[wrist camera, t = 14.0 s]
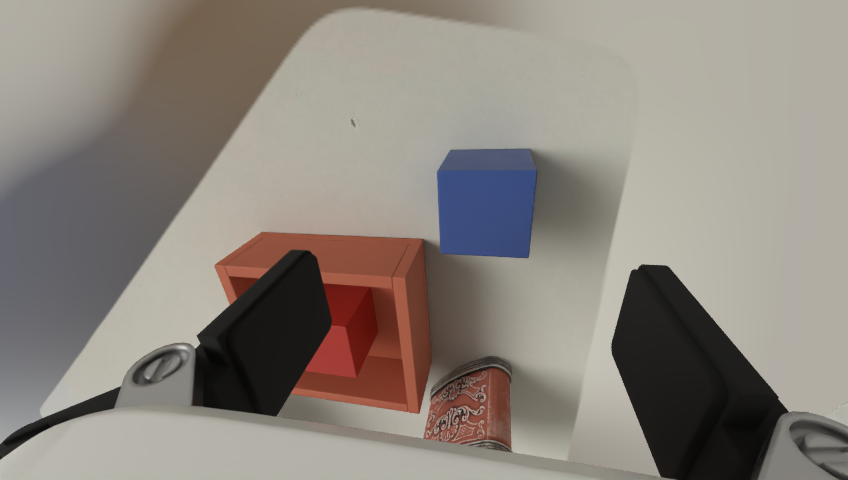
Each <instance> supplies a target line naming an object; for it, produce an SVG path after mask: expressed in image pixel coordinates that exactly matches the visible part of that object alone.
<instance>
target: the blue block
mask: <svg viewBox="0 0 848 480" xmlns="http://www.w3.org/2000/svg"><path fill="white" fill-rule="evenodd" d="M536 180H537V170H536V167H535V164H534V161H533V158H532V155H531V151H530V149H481V150H450V151H449V153H448V155H447V156H446V158H445V160H444V161H443V163H442V164H441V166H440V168H439V169H438V171H437V181H438V205H439V228H440V252H441V254H456V255H475V256H495V257H515V258H528V257H529V251H530V241H531V231H532V221H533V210H534V200H535V190H536Z"/></svg>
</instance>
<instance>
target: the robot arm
mask: <svg viewBox="0 0 848 480" xmlns="http://www.w3.org/2000/svg"><path fill="white" fill-rule="evenodd" d="M331 326H332V317H331V313H330V309H329V305H328V301H327V297H326V293H325V289H324V284H323V280H322V276H321V272H320V268H319V264H318V260H317V257H316V256H315V255H313V254H312V253H311V251H309V250H290V251H289V252H288V253H287V254H285V255H284V256H283V257H282V258H281V259H280V260H279V261H278V262H277V263H276V264H275V265H273V266H272V267H271V268H270V269H269V270H268V271H267V272H266V273H265V274H264V275H263V276H261V277H260V278H259V279H258V280H257V281H256V282H255V283H254V284H253V285H252V286H250V287H249V288H248V289H247V290H246V291H245V292H244V293H243V294H242V295H241V296H240V297H238V298H237V299H236V300H235V301H234V302H233V303H232V304H231V305H230V306H229V307H228V308H226V309H225V310H224V311H223V312H222V313H221V314H220V315H219V316H218V317H217V318H215V319H214V320H213V321H212V322H211V323H210V324H209V325H208V326H207V327H206V328H205V329H203V330H202V331H201V332H200V333H199V334H198V335H197V337H198V339H199V341H200V343H201V344H200V345H199V346H198V347H197V348H195V347H193V346H192V345H191V344H188V343H174V344H170V345H166V346H163V347H161V348H159V349H156V350H154V351H152V352H150V353H149V354H147V355H145V356H144V357H142V358H141V359H140V360H138V361H137V362H136V363H135V364H134V365H133V366H132V367H131V368H130V369H129V370H128V371H127V373H126V375H125V377H124V379H123V382H122V385H121V386H120V387H118V388H116V389H113V390H111V391H108V392H106V393H103V394H101V395H98V396H96V397H94V398H91V399H89V400H86V401H84V402H81V403H79V404H76V405H74V406H71V407H69V408H67V409H64V410H62V411H59V412H57V413H54V414H52V415H49V416H47V417H45V418H42V419H40V420H38V421H36V422H34V423H31V424H28V425H26V426H24V427H22V428H20V429H19V430H17V431H15V432H14V433H12V434H11V435H10V436H9V437H7V438H6V439H5V440H4V441H3V442H2V443H1V444H0V480H848V427H847V426H846V425H844V424H842V423H839V422H837V421H834V420H832V419H829V418H827V417H824V416H820V415H816V414H812V413H808V412H794V411H792V412H788V410H787V409H786V408H785V407H784V406H783V404H782V403H781V402H780V401H779V400H778V396H777V395H776V393H775V392H774V391H773V390H772V389H771V387H770V386H769V385H768V384H767V383H766V382H765V380H764V379H763V378H762V377H761V376H760V375H759V373H758V372H757V371H756V370H755V369H754V368H753V366H752V365H751V364H750V363H749V362H748V360H747V359H746V358H745V357H744V356H743V354H742V353H741V352H740V351H739V350H738V349H737V347H736V346H735V345H734V344H733V342H732V341H731V340H730V339H729V338H728V337H727V336H726V334H725V333H724V332H723V331H722V329H721V328H720V327H719V326H718V325H717V324H716V322H715V321H714V320H713V319H712V318H711V317H710V315H709V314H708V313H707V312H706V311H705V309H704V308H703V307H702V306H701V305H700V303H699V302H698V301H697V300H696V299H695V297H694V296H693V295H692V294H691V293H690V292H689V291H688V289H687V288H686V287H685V286H684V285H683V283H682V282H681V281H680V280H679V279H678V277H677V276H676V275H675V274H674V273H673V272H672V270H671V269H670V268H669V267H668V266H663V265H641V266H640V267H639V268H638V270H632V271H631V274H630V277H629V281H628V284H627V288H626V292H625V295H624V299H623V303H622V307H621V310H620V314H619V318H618V321H617V326H616V329H615V333H614V337H613V340H612V346H611V348H612V355H613V358H614V360H615V363H616V365H617V368H618V370H619V373H620V375H621V378H622V380H623V383H624V386H625V388H626V391H627V393H628V396H629V398H630V401H631V403H632V406H633V408H634V411H635V413H636V416H637V418H638V421H639V423H640V426H641V428H642V430H643V433H644V436H645V438H646V441H647V443H648V446H649V448H650V451H651V453H652V456H653V458H654V461H655V463H656V466H657V468H658V471H659V474H660V476H661V477H657V476H651V475H646V474H640V473H635V472H629V471H623V470H617V469H612V468H606V467H599V466H594V465H587V464H581V463H575V462H568V461H562V460H556V459H549V458H543V457H537V456H531V455H524V454H518V453H512V452H505V451H499V450H493V449H487V448H480V447H474V446H467V445H461V444H454V443H448V442H441V441H435V440H428V439H422V438H415V437H409V436H402V435H396V434H389V433H382V432H376V431H369V430H363V429H356V428H350V427H343V426H336V425H329V424H322V423H316V422H309V421H302V420H295V419H288V418H282V417H276V416H277V414H278V413H279V411H280V410H281V408H282V406H283V405H284V403H285V402H286V400H287V398H288V397H289V395H290V393H291V392H292V390H293V389H294V387H295V385H296V384H297V382H298V381H299V379H300V377H301V376H302V374H303V373H304V371H305V369H306V368H307V366H308V364H309V363H310V361H311V360H312V358H313V356H314V355H315V353H316V352H317V350H318V348H319V347H320V345H321V343H322V342H323V340H324V339H325V337H326V335H327V334H328V332H329V331H330V329H331Z"/></svg>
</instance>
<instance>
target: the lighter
mask: <svg viewBox="0 0 848 480" xmlns="http://www.w3.org/2000/svg"><path fill="white" fill-rule="evenodd" d="M511 382H512V369H511V366H510V365H509V363H508V362H507V361H505V360H504V359H502V358H499V357H494V356H490V357H486V358H482V359H479V360H476V361H473V362H470V363H468V364H466V365H464V366H462V367H459V368H457V369H455V370H454V371H452V372H451V373H449V374H448V375H446V376H444V377H443V378H442V379H441V380H440V381H438V382H437V383H436V384H435V385H434V386H433V387H432V389H431V394H430V402H431V405H430V409H429V414H428V419H427V424H426V428H425V433H424V438H423V439H428V440H435V441H441V442H448V443H454V444H461V445H467V446H474V447H480V448H487V449H493V450H499V451H505V452H512V450H511V415H510V384H511ZM512 453H513V452H512Z"/></svg>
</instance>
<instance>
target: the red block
mask: <svg viewBox="0 0 848 480" xmlns="http://www.w3.org/2000/svg"><path fill="white" fill-rule="evenodd" d="M323 284H324V289H325V293H326V297H327V301H328V305H329V309H330V313H331V317H332V326H331V329H330V331H329V332H328V334H327V335H326V337H325V339H324V340H323V342H322V343H321V345H320V347H319V348H318V350H317V352H316V353H315V355H314V356H313V358H312V360H311V361H310V363H309V364H308V366H307V368H306V369H305V371H308V372H316V373H323V374H330V375H337V376H345V377H352V378H357V376H358V374H359V372H360V370H361V368H362V366H363V364H364V361H365V359H366V357H367V355H368V353H369V351H370V349H371V346H372V344H373V342H374V340H375V338H376V336H377V334H378V328H377V322H376V316H375V309H374V303H373V297H372V291H371V287H366V286H353V285H340V284H327V283H323Z"/></svg>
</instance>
